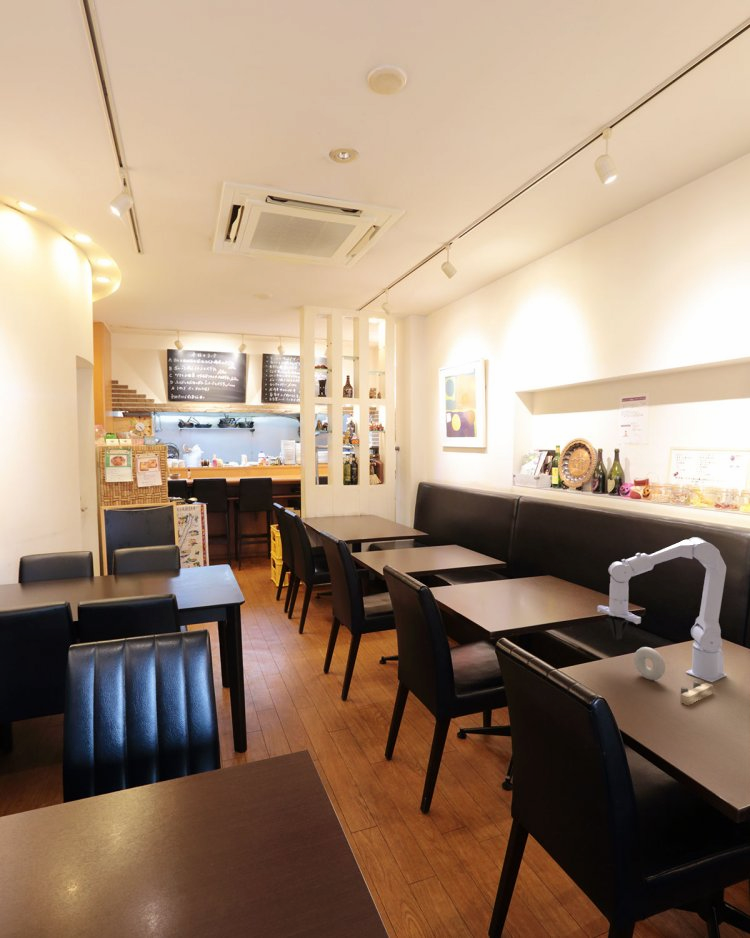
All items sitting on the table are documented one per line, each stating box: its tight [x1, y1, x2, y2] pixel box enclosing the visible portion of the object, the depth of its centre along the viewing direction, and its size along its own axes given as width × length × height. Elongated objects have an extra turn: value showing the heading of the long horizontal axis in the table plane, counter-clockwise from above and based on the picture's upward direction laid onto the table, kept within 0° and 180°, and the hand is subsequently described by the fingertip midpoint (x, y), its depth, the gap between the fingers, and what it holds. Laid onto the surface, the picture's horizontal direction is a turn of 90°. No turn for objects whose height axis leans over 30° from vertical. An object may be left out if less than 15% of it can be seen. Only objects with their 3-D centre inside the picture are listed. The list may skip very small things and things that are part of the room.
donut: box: [633, 646, 666, 681], centre depth 165 cm, size 10×3×10 cm, turn 28°
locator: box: [680, 680, 714, 706], centre depth 154 cm, size 14×4×3 cm, turn 122°
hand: (617, 638), depth 174 cm, fingers closed
